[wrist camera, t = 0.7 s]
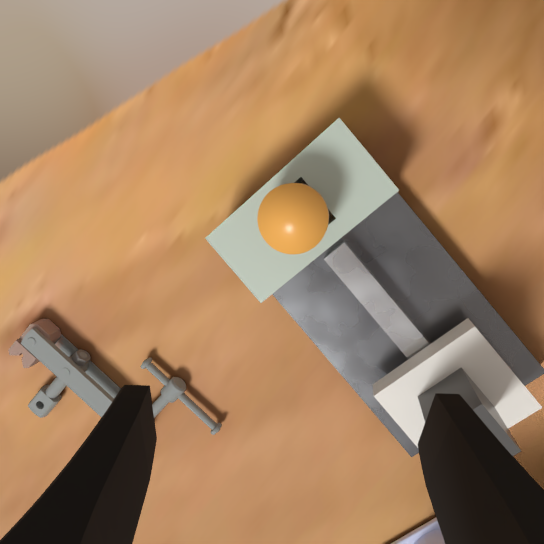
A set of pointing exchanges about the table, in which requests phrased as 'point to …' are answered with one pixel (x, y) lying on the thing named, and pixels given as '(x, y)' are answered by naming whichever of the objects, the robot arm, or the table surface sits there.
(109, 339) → the table surface
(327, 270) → the rail
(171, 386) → the clamp
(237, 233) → the end cabinet
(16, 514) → the table surface
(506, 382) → the carriage
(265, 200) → the plunger
